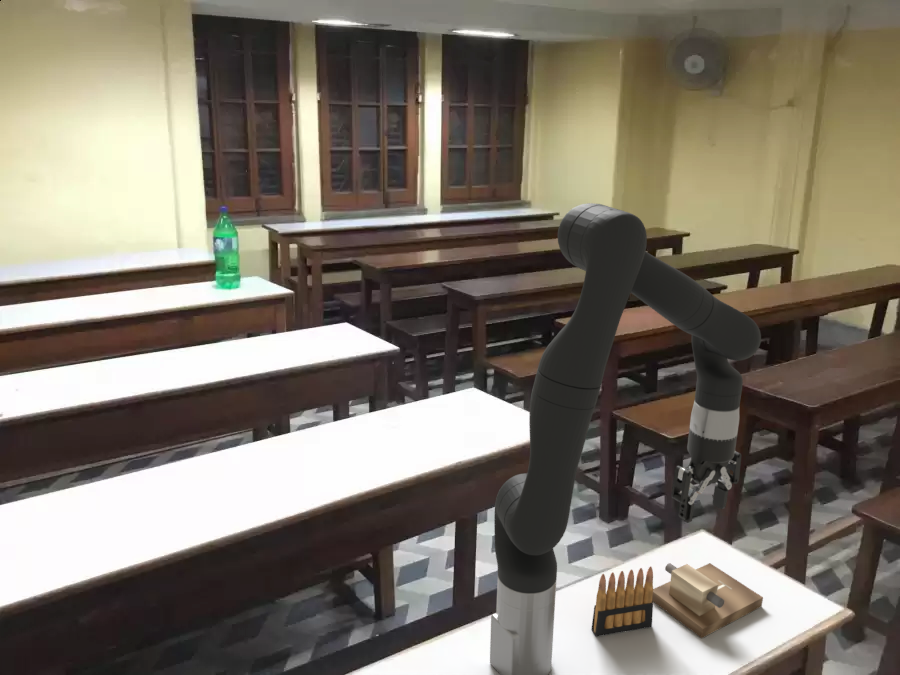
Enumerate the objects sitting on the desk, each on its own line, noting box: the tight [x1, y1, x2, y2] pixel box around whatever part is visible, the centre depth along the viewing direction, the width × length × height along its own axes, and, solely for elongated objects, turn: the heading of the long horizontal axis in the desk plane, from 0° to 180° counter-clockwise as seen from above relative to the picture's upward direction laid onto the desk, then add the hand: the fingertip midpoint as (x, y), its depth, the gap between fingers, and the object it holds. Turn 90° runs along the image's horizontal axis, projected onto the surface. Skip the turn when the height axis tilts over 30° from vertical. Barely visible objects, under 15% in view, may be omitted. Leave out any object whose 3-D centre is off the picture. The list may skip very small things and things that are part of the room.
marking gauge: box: [664, 562, 724, 616], centre depth 132 cm, size 4×12×5 cm, turn 31°
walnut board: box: [652, 563, 764, 639], centre depth 135 cm, size 16×12×2 cm
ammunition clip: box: [591, 565, 654, 637], centre depth 127 cm, size 11×2×12 cm, turn 104°
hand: (702, 513), depth 127 cm, fingers open, 8 cm apart
